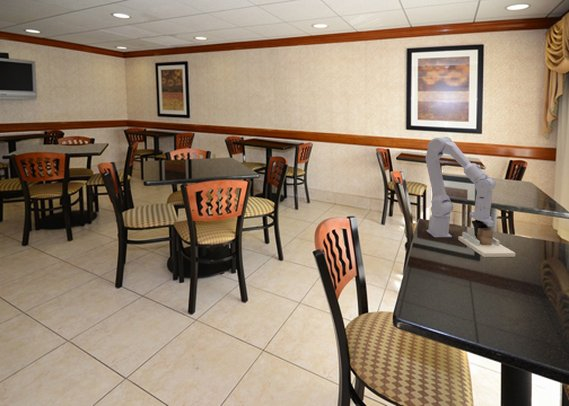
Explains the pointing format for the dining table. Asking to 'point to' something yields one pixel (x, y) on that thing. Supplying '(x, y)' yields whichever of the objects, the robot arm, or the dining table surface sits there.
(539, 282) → the dining table surface
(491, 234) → the walnut block
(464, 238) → the channel
